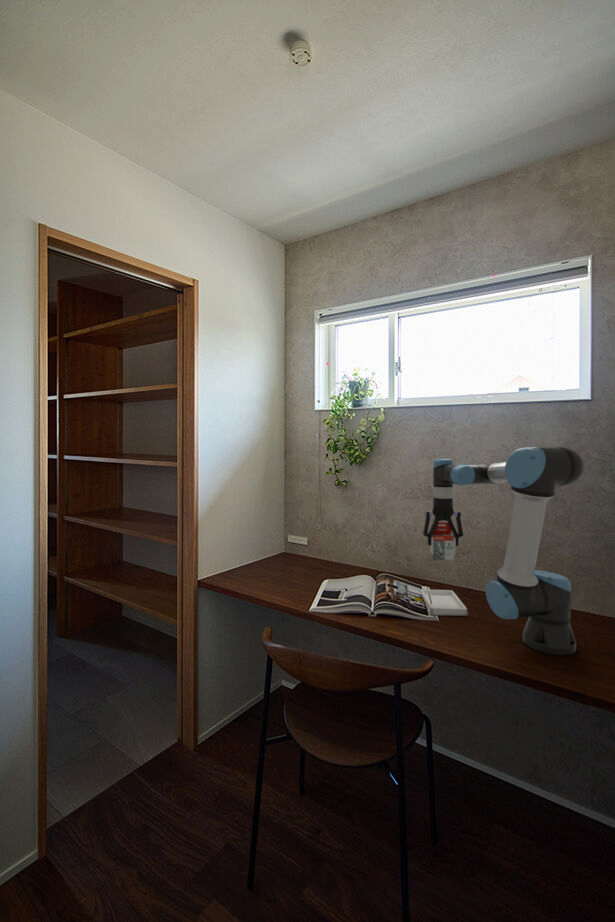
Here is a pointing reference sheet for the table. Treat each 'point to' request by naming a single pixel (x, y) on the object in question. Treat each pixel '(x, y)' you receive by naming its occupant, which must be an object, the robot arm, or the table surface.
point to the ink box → (443, 543)
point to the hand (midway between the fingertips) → (442, 553)
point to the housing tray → (444, 603)
